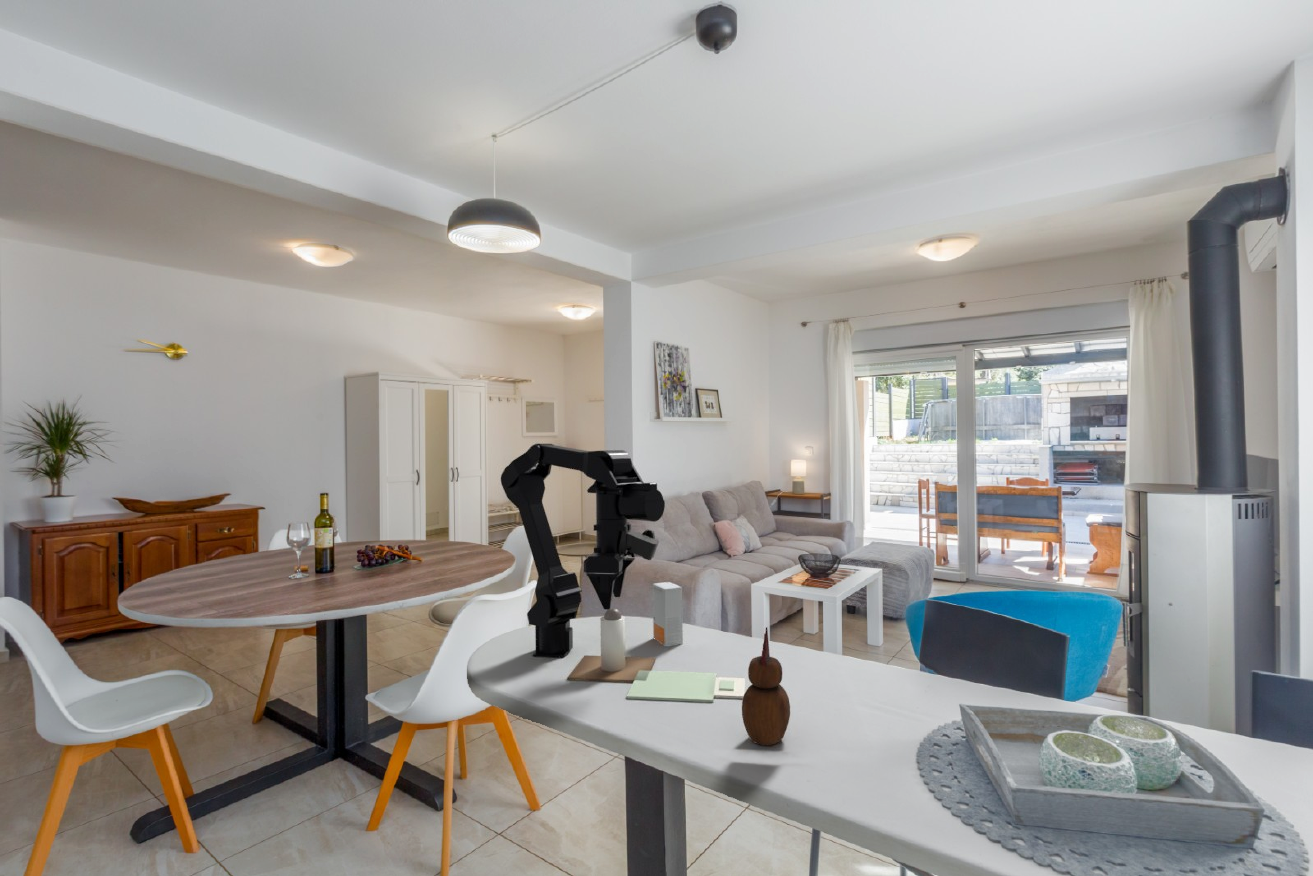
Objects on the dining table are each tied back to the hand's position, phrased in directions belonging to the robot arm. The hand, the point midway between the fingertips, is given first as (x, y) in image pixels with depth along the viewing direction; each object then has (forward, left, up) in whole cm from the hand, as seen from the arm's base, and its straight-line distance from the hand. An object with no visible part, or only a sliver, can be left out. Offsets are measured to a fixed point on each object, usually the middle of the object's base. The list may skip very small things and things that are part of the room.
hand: (612, 603), depth 116 cm
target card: (+21, -7, -12) cm, 25 cm away
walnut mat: (0, 0, -12) cm, 12 cm away
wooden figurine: (+27, -25, -12) cm, 39 cm away
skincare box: (+8, +17, -12) cm, 22 cm away
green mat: (+12, -7, -12) cm, 19 cm away
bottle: (0, 0, -12) cm, 12 cm away
